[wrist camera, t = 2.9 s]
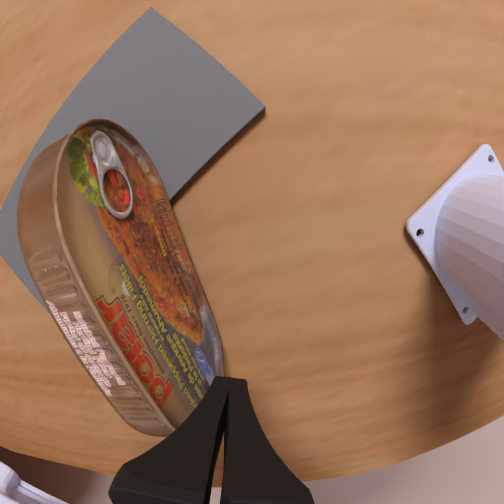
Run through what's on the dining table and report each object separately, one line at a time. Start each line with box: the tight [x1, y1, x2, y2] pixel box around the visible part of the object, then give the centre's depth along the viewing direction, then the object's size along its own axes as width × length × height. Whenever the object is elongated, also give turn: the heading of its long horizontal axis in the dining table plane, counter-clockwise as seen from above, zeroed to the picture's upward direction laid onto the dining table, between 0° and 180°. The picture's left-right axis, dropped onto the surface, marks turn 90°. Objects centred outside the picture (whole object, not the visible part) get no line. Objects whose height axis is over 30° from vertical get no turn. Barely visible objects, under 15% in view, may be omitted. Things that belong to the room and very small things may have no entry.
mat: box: [0, 8, 265, 313], centre depth 16 cm, size 9×19×1 cm, turn 134°
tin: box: [17, 118, 224, 437], centre depth 13 cm, size 15×3×8 cm, turn 16°
